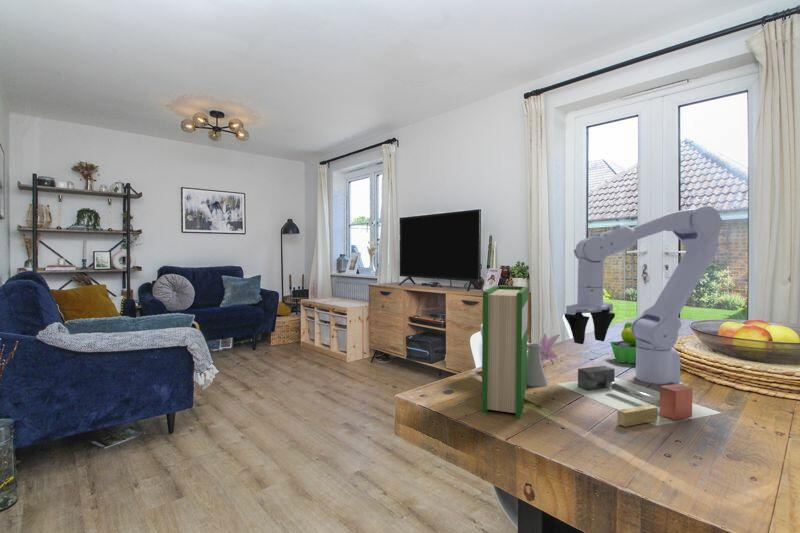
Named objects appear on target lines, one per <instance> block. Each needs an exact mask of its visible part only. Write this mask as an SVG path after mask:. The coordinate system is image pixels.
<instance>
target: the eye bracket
mask: <svg viewBox="0 0 800 533" xmlns="http://www.w3.org/2000/svg"><path fill="white" fill-rule="evenodd" d="M615 370H616V369H615V368H612V367H610V366H606V365H599V366H598V365H597V366H592V367H591V366H589V367H581V368H578V369H577V381H578V387H579V388H582V389H584V390H587V391H591V390H598V389H605V388H608V384H609V382H614V378H615V377H616V376H615V374H616V373H615Z"/></svg>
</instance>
